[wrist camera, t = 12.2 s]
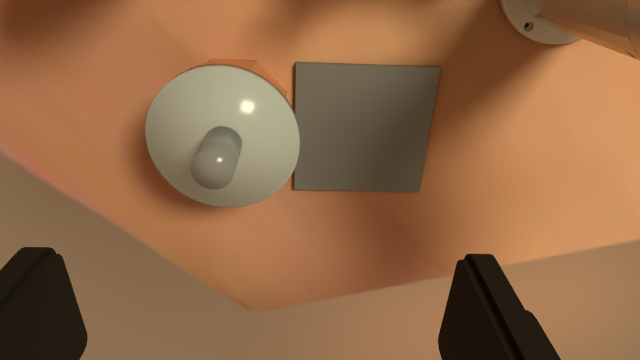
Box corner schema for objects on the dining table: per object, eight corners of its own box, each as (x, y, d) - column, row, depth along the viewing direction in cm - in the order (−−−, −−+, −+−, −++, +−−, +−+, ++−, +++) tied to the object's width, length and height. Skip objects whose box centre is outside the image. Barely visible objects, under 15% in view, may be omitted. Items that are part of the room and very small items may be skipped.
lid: (301, 66, 35) (299, 89, 30) (298, 201, 41) (297, 241, 36) (137, 60, 35) (106, 84, 29) (161, 199, 41) (139, 239, 36)
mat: (439, 66, 42) (440, 68, 42) (417, 189, 49) (418, 192, 49) (295, 61, 42) (295, 63, 41) (294, 186, 49) (294, 189, 48)
